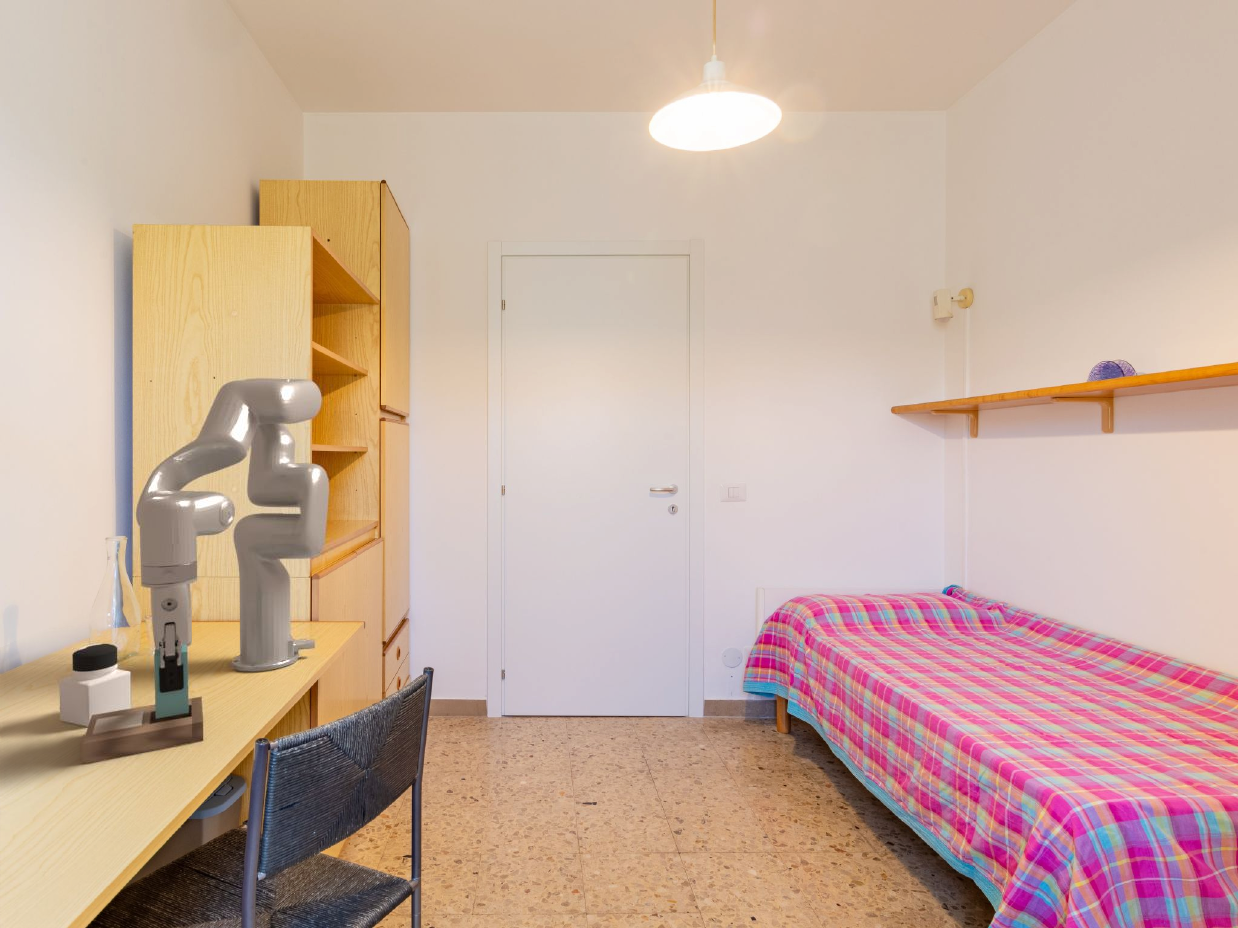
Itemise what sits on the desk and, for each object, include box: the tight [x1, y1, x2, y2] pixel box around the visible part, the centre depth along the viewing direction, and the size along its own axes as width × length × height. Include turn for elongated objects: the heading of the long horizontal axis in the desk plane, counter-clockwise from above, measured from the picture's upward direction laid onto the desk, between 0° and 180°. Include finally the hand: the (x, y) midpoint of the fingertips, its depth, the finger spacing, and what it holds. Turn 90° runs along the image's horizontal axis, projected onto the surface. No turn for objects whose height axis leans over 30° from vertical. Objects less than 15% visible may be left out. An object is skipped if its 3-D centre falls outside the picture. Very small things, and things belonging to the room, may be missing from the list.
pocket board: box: [81, 696, 204, 765], centre depth 108 cm, size 15×12×3 cm
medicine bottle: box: [58, 643, 132, 728], centre depth 115 cm, size 7×7×12 cm
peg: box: [153, 644, 190, 719], centre depth 110 cm, size 4×4×10 cm
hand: (172, 684), depth 110 cm, fingers closed on peg, 4 cm apart
